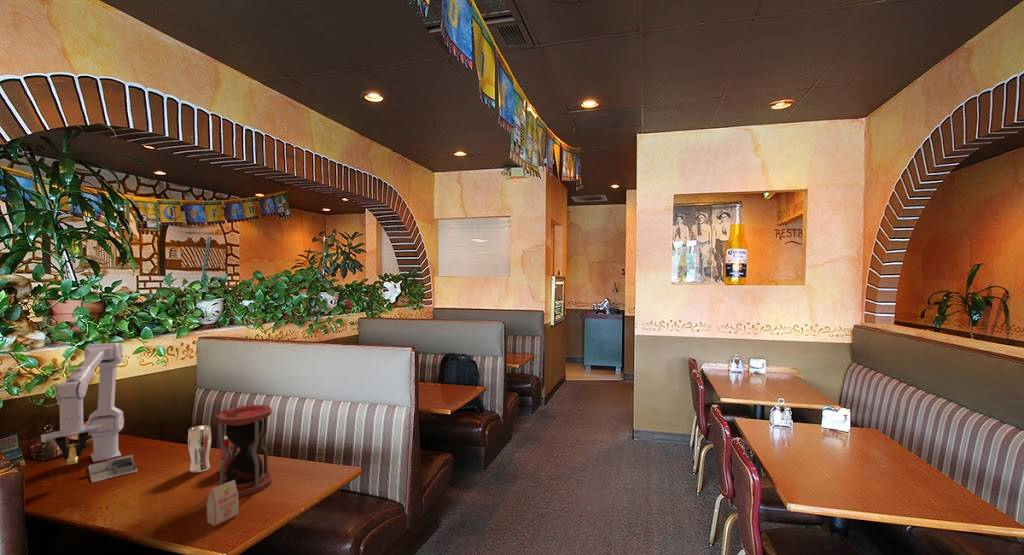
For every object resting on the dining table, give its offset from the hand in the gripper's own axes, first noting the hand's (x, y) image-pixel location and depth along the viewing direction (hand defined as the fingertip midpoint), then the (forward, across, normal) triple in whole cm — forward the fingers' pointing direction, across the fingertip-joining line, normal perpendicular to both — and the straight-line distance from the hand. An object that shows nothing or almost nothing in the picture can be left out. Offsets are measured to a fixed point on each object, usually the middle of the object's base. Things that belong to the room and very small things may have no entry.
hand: (72, 457), depth 155 cm
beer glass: (+9, +32, -18) cm, 38 cm away
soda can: (+9, +40, -26) cm, 49 cm away
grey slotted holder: (+9, +11, +8) cm, 16 cm away
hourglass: (+9, +40, -44) cm, 60 cm away
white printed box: (+9, +28, -62) cm, 69 cm away
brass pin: (+2, 0, 0) cm, 2 cm away
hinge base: (+9, +10, 0) cm, 14 cm away
